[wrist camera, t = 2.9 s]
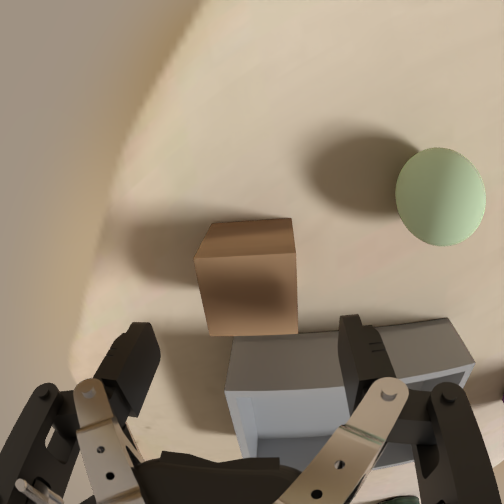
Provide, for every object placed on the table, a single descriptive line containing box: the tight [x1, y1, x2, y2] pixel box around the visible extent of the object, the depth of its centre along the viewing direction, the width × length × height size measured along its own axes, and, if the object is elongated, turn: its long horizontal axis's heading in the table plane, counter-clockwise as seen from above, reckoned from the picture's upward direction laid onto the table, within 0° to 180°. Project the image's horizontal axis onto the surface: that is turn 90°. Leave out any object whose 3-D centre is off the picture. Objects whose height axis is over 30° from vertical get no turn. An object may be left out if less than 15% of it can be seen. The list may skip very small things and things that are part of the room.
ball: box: [395, 148, 486, 246], centre depth 13 cm, size 5×5×5 cm
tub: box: [224, 318, 475, 472], centre depth 21 cm, size 14×16×5 cm
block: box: [193, 218, 298, 336], centre depth 16 cm, size 4×4×4 cm
